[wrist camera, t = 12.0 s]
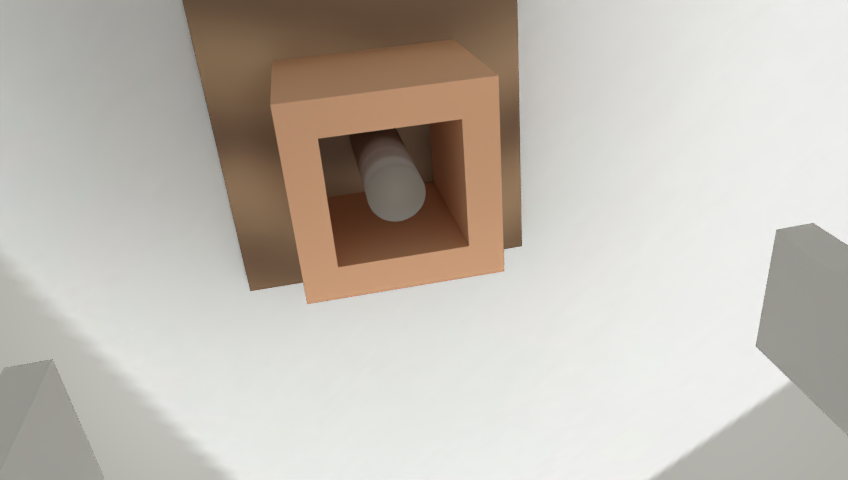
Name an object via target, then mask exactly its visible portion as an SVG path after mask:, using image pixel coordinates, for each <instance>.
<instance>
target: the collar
mask: <svg viewBox="0 0 848 480" xmlns="http://www.w3.org/2000/svg"><path fill="white" fill-rule="evenodd" d="M270 106H271V112H272V117H273V122H274V128H275V133H276V139H277V144H278V149H279V155H280V160H281V165H282V171H283V176H284V181H285V187H286V192H287V198H288V203H289V208H290V214H291V219H292V224H293V230H294V235H295V240H296V246H297V251H298V257H299V262H300V267H301V273H302V278H303V283H304V289H305V294H306V300H307V304H311V303H317V302H323V301H329V300H335V299H341V298H347V297H353V296H359V295H365V294H371V293H377V292H383V291H388V290H394V289H400V288H406V287H412V286H418V285H424V284H430V283H436V282H442V281H448V280H454V279H460V278H466V277H472V276H478V275H484V274H490V273H496V272H502V271H504V247H503V212H502V178H501V143H500V109H499V76H498V75H497V74H496V73H495V72H493V71H492V70H491V69H490V68H489V67H487V66H486V65H485V64H484V63H482V62H481V61H480V60H479V59H477V58H476V57H475V56H474V55H473V54H471V53H470V52H469V51H468V50H466V49H465V48H464V47H463V46H461V45H460V44H459V43H458V42H456V41H455V40H454V39H453V40H445V41H437V42H428V43H420V44H412V45H403V46H395V47H387V48H378V49H370V50H362V51H353V52H345V53H337V54H328V55H320V56H312V57H303V58H295V59H287V60H278V61H272V71H271V98H270ZM422 124H429V127H430V139H431V152H432V165H433V178H434V182H428V183H424V185H425V190H426V195H425V200H424V203H423V205H422V207H421V208H420V210H419V211H418V212H417V213H416V214H415V215H413V216H412V217H410V218H408V219H406V220H403V221H396V222H395V221H387V220H384V219H382V218H380V217H378V216H377V215H376V214H375V213H374V212H373V211H372V210H371V208H370V206H369V204H368V200H367V197H366V194H365V192H360V193H353V194H346V195H339V196H333V197H327V194H326V188H325V181H324V175H323V168H322V162H321V156H320V149H319V143H318V139H319V138H327V137H334V136H341V135H349V134H356V133H363V132H371V131H378V130H386V129H393V128H400V127H408V126H415V125H422Z"/></svg>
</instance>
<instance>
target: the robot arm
mask: <svg viewBox="0 0 848 480" xmlns="http://www.w3.org/2000/svg"><path fill="white" fill-rule="evenodd" d="M756 347H757V348H758V349H759V350H760V351H761V352H762V353H763V354H764V355H765V356H766V357H767V358H768V359H769V360H770V361H771V362H772V363H773V364H774V365H776V366H777V367H778V368H779V369H780V370H781V371H782V372H783V373H784V374H785V375H786V376H787V377H788V378H789V379H790V380H791V381H792V382H793V383H794V384H795V385H796V386H797V387H798V388H799V389H800V390H801V391H803V393H804V394H805V395H807V397H809V399H811V400H812V401H813V402H814V403H815V404H816V405H817V406H818V407H819V408H820V409H821V410H822V411H823V412H824V413H825V414H826V415H827V416H828V417H829V418H830V419H831V420H832V421H833V422H834V423H835V424H836V425H837V426H838V427H839V428H840V429H841V430H842V431H843V432H845V433H846V434H847V435H848V245H847V244H845V243H843V242H842V241H840V240H839V239H837V238H836V237H834V236H832V235H831V234H829V233H828V232H826V231H825V230H823V229H821V228H820V227H818V226H817V225H815V224H814V223H811V224H806V225H800V226H794V227H789V228H783V229H778V230H776V235H775V240H774V246H773V252H772V257H771V263H770V268H769V274H768V280H767V285H766V291H765V296H764V302H763V308H762V313H761V319H760V325H759V330H758V336H757V341H756ZM103 479H104V476H103V473H102V471H101V469H100V467H99V464H98V462H97V460H96V457H95V456H94V453H93V451H92V448H91V446H90V444H89V441H88V439H87V437H86V435H85V432H84V430H83V428H82V425H81V423H80V421H79V419H78V416H77V414H76V412H75V410H74V407H73V405H72V403H71V400H70V398H69V396H68V394H67V391H66V389H65V386H64V384H63V382H62V380H61V377H60V375H59V373H58V370H57V368H56V366H55V364H54V361H53V359H52V360H46V361H40V362H35V363H29V364H24V365H18V366H12V367H7V368H4V369H3V371H2V372H1V374H0V480H103Z"/></svg>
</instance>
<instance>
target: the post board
mask: <svg viewBox="0 0 848 480" xmlns="http://www.w3.org/2000/svg"><path fill="white" fill-rule="evenodd" d="M183 5H184V9H185V13H186V18H187V22H188V26H189V30H190V35H191V39H192V43H193V47H194V52H195V56H196V60H197V65H198V69H199V73H200V77H201V82H202V86H203V90H204V95H205V99H206V103H207V107H208V112H209V116H210V120H211V125H212V129H213V133H214V137H215V142H216V146H217V150H218V155H219V159H220V163H221V167H222V172H223V176H224V180H225V185H226V189H227V193H228V197H229V202H230V206H231V210H232V215H233V219H234V223H235V227H236V232H237V236H238V240H239V244H240V249H241V253H242V257H243V262H244V266H245V270H246V274H247V279H248V283H249V287H250V291H254V290H260V289H266V288H272V287H278V286H284V285H290V284H296V283H302V282H303V278H302V273H301V267H300V262H299V257H298V251H297V246H296V240H295V235H294V230H293V224H292V219H291V214H290V208H289V203H288V198H287V192H286V187H285V181H284V176H283V171H282V165H281V160H280V155H279V149H278V144H277V139H276V133H275V128H274V122H273V117H272V112H271V106H270V98H271V71H272V61H278V60H287V59H295V58H303V57H312V56H320V55H328V54H337V53H345V52H353V51H362V50H370V49H378V48H387V47H395V46H403V45H412V44H420V43H428V42H437V41H445V40H453V39H454V40H455V41H456V42H458V43H459V44H460V45H461V46H463V47H464V48H465V49H466V50H468V51H469V52H470V53H471V54H473V55H474V56H475V57H476V58H477V59H479V60H480V61H481V62H482V63H484V64H485V65H486V66H487V67H489V68H490V69H491V70H492V71H493V72H495V73H496V74H497V75H498V76H499V109H500V143H501V178H502V212H503V247H504V249H507V248H513V247H519V246H522V231H521V178H520V125H519V72H518V19H517V0H183ZM318 143H319V149H320V156H321V162H322V168H323V175H324V181H325V188H326V194H327V197H333V196H339V195H346V194H353V193H360V192H365V194H366V197H367V200H368V204H369V206H370V208H371V210H372V211H373V212H374V213H375V214H376V215H377V216H378V217H380V218H382V219H384V220H387V221H395V222H396V221H403V220H406V219H408V218H410V217H412V216H413V215H415V214H416V213H417V212H418V211H419V210H420V208H421V207H422V205H423V203H424V200H425V195H426V190H425V185H424V183H428V182H434V178H433V165H432V152H431V139H430V127H429V124H422V125H415V126H408V127H400V128H393V129H386V130H378V131H371V132H363V133H356V134H349V135H341V136H334V137H327V138H319V139H318Z"/></svg>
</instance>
